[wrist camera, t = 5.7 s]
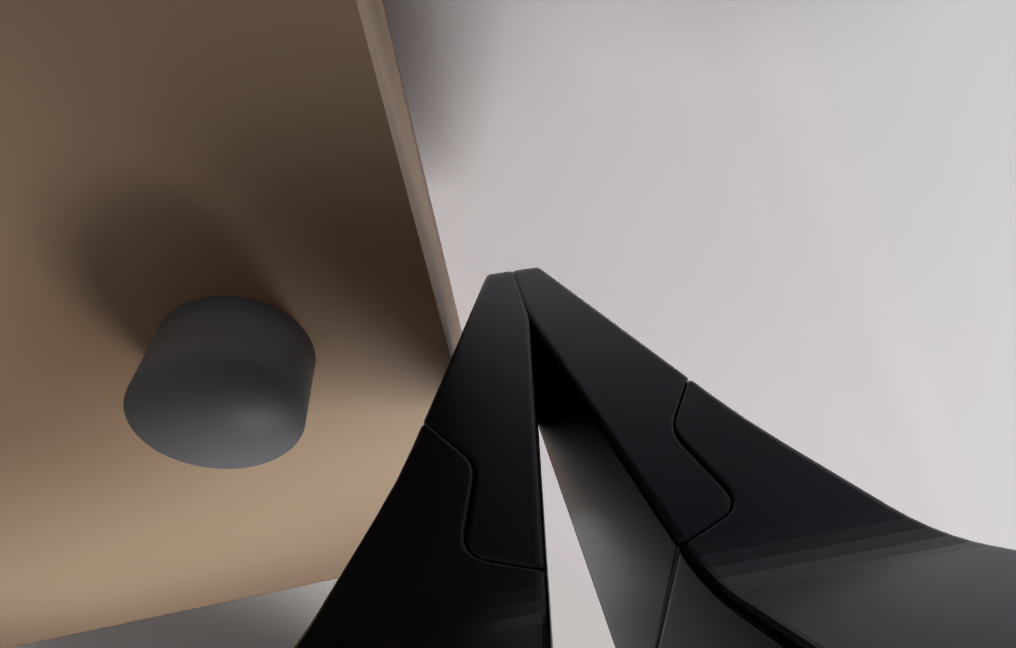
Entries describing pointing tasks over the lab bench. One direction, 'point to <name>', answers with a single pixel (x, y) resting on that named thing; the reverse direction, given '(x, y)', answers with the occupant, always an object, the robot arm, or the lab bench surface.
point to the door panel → (204, 301)
